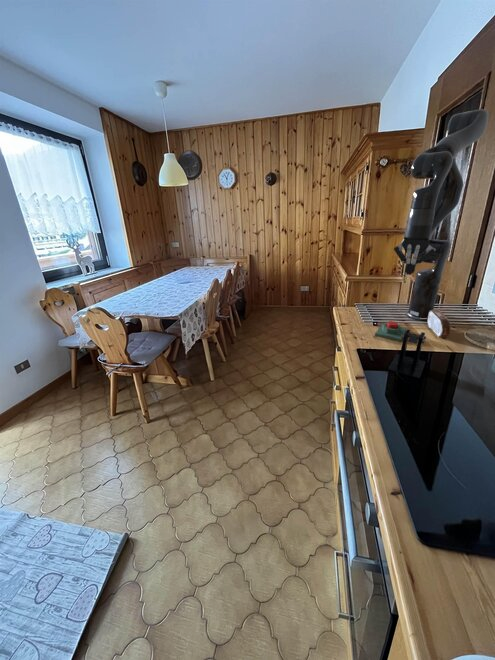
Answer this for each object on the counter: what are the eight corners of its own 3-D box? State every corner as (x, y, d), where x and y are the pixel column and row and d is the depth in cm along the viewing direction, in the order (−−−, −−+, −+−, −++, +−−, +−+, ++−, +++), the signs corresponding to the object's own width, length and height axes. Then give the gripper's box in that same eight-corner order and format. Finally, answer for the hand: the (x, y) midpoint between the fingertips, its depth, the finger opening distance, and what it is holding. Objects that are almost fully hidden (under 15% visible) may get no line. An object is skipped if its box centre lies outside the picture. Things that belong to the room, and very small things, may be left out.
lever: (408, 338, 99) (410, 331, 98) (424, 342, 96) (426, 335, 96) (403, 340, 88) (405, 333, 88) (421, 344, 85) (423, 337, 85)
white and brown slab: (447, 342, 106) (453, 321, 102) (438, 341, 106) (444, 321, 103) (432, 324, 119) (437, 306, 115) (424, 324, 119) (428, 306, 116)
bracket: (395, 356, 99) (402, 323, 93) (425, 364, 94) (434, 330, 88) (387, 371, 91) (394, 337, 86) (418, 381, 86) (428, 344, 81)
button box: (382, 327, 119) (383, 318, 117) (405, 332, 114) (407, 323, 112) (374, 337, 112) (376, 328, 110) (399, 343, 106) (401, 334, 105)
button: (388, 324, 114) (388, 320, 113) (398, 326, 111) (398, 322, 111) (385, 327, 111) (386, 323, 110) (395, 330, 109) (396, 326, 108)
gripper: (444, 221, 92) (432, 273, 100) (400, 221, 100) (391, 269, 108) (441, 224, 87) (428, 279, 95) (395, 223, 95) (386, 274, 102)
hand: (409, 274), depth 101 cm, fingers closed
